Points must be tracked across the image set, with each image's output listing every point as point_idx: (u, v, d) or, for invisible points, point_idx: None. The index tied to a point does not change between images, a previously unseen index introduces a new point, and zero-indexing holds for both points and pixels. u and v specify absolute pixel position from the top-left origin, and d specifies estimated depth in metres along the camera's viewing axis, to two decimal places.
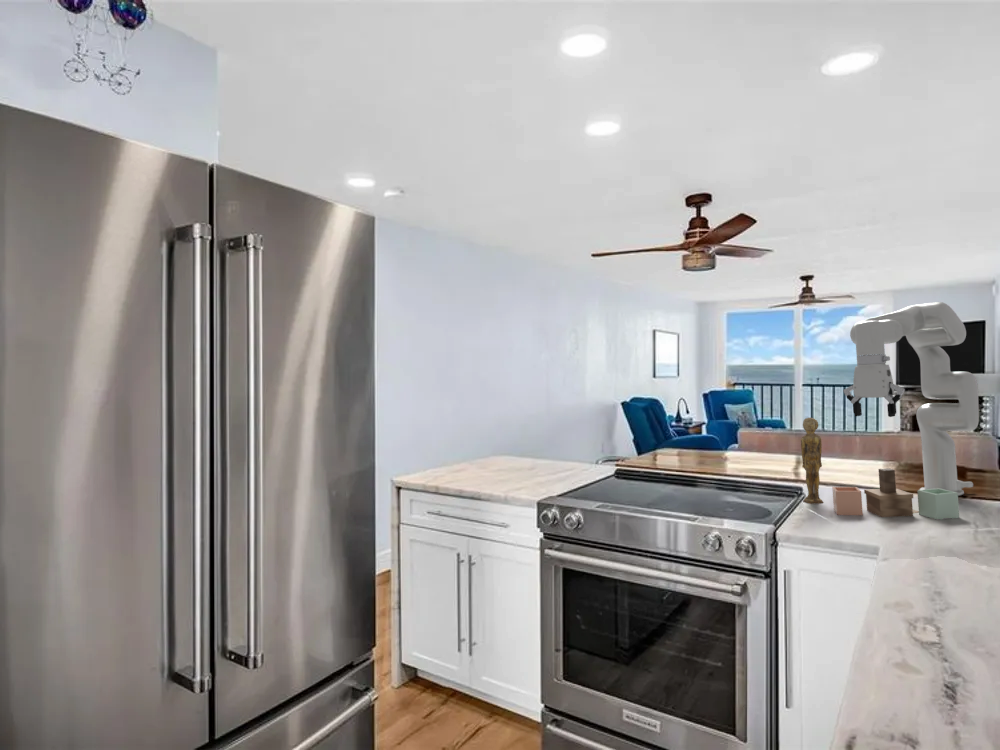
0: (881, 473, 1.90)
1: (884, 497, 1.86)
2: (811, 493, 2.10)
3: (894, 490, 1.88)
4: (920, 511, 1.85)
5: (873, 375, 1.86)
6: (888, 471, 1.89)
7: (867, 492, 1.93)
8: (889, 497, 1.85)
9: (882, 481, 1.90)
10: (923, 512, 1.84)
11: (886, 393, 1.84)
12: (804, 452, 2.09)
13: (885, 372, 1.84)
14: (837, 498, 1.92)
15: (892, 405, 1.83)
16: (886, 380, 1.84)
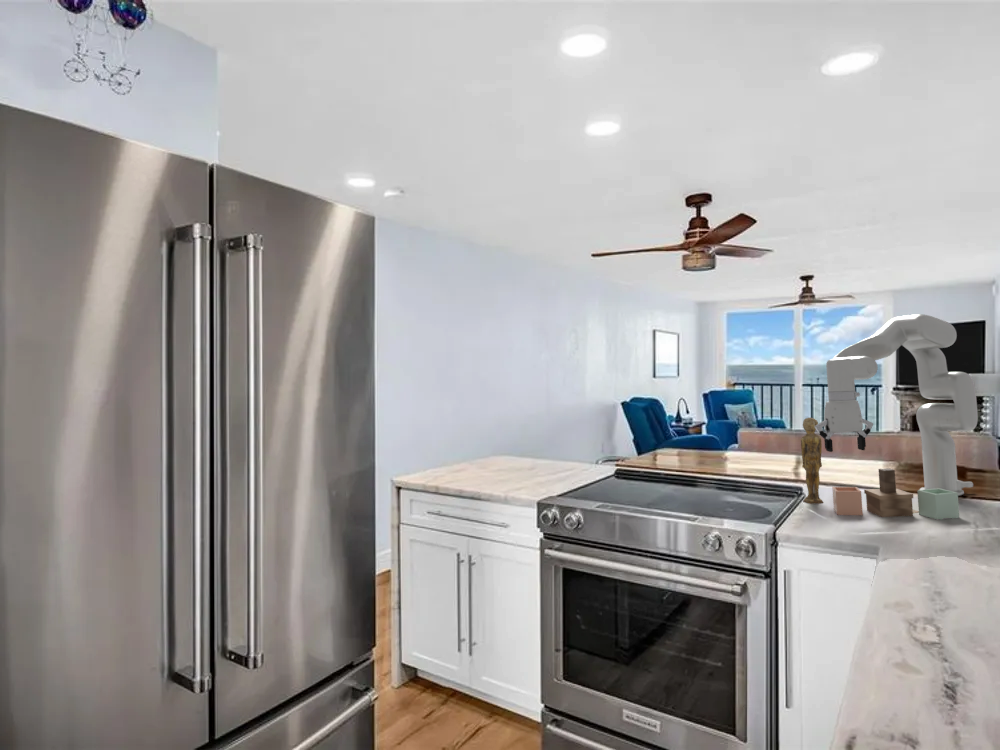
0: (881, 473, 1.90)
1: (884, 497, 1.86)
2: (811, 493, 2.10)
3: (894, 490, 1.88)
4: (920, 511, 1.85)
5: (851, 410, 1.92)
6: (888, 471, 1.89)
7: (867, 492, 1.93)
8: (889, 497, 1.85)
9: (882, 481, 1.90)
10: (923, 512, 1.84)
11: (862, 427, 1.92)
12: (804, 452, 2.09)
13: (859, 407, 1.92)
14: (837, 498, 1.92)
15: (864, 439, 1.93)
16: (861, 415, 1.92)
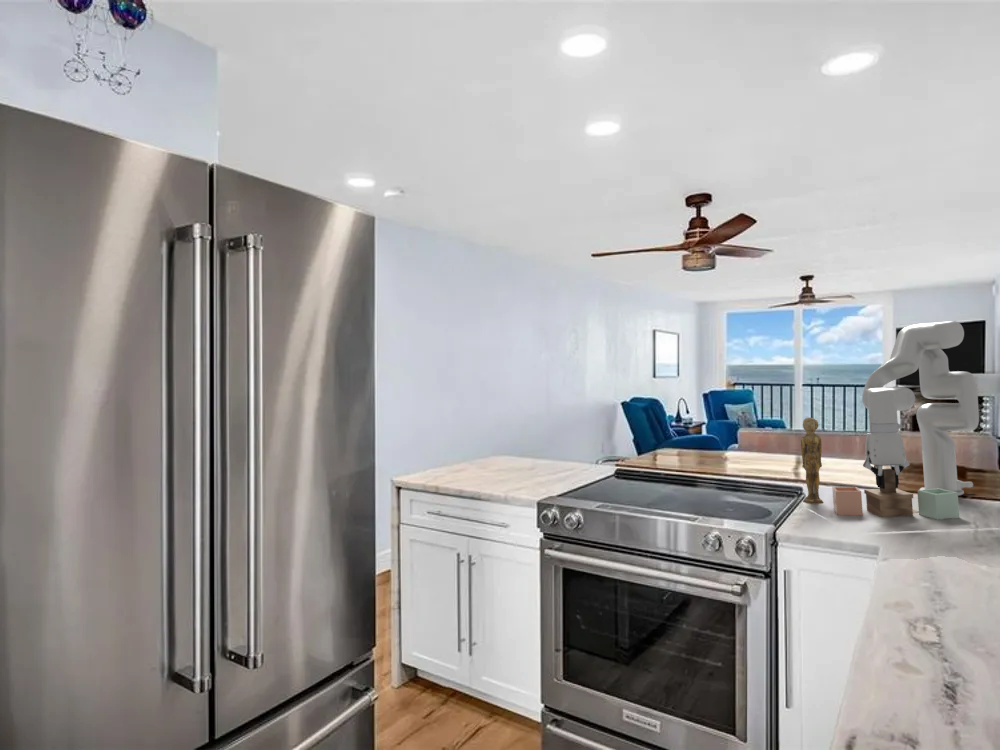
0: None
1: (884, 497, 1.86)
2: (811, 493, 2.10)
3: (894, 490, 1.88)
4: (920, 511, 1.85)
5: (894, 443, 1.88)
6: (888, 471, 1.89)
7: (867, 492, 1.93)
8: (889, 497, 1.85)
9: None
10: (923, 512, 1.84)
11: (904, 460, 1.88)
12: (804, 452, 2.09)
13: (902, 440, 1.88)
14: (837, 498, 1.92)
15: (897, 476, 1.89)
16: None
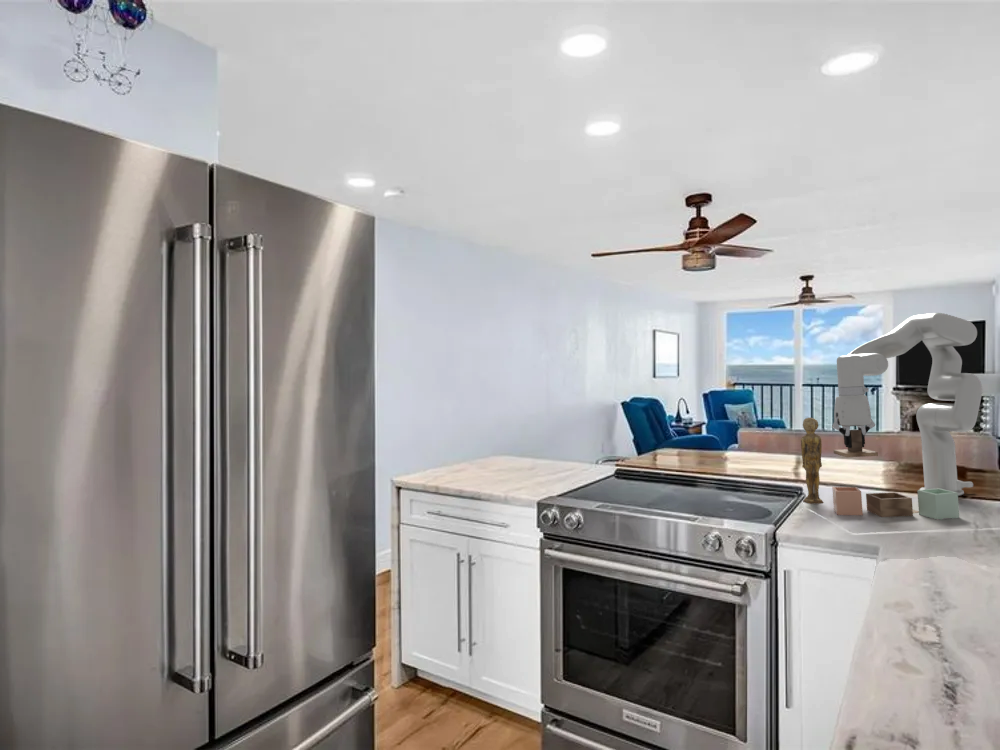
0: None
1: (851, 455, 1.99)
2: (811, 493, 2.10)
3: (860, 449, 2.02)
4: (920, 511, 1.85)
5: (860, 405, 2.01)
6: (855, 431, 2.02)
7: (836, 452, 2.06)
8: (855, 455, 1.99)
9: None
10: (923, 512, 1.84)
11: (870, 421, 2.01)
12: (804, 452, 2.09)
13: (868, 402, 2.01)
14: (837, 498, 1.92)
15: None
16: None
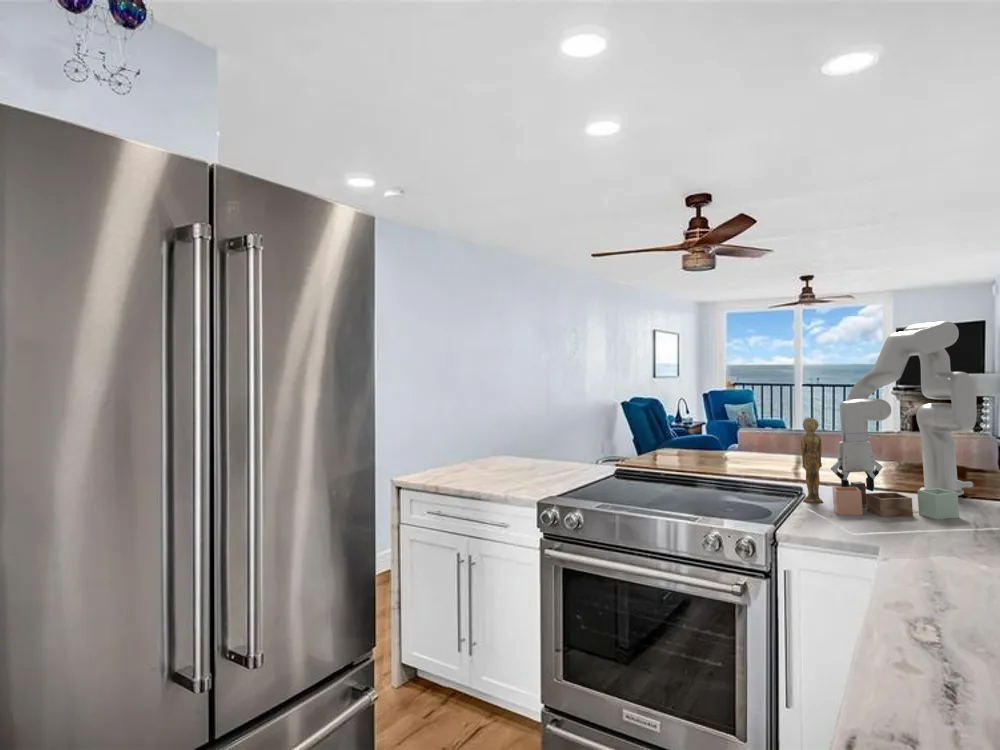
0: (852, 486, 2.04)
1: None
2: (811, 493, 2.10)
3: (865, 502, 2.02)
4: (920, 511, 1.85)
5: (863, 451, 2.01)
6: (859, 484, 2.02)
7: None
8: None
9: None
10: (923, 512, 1.84)
11: (873, 467, 2.01)
12: (804, 452, 2.09)
13: (871, 448, 2.01)
14: (837, 498, 1.92)
15: None
16: None
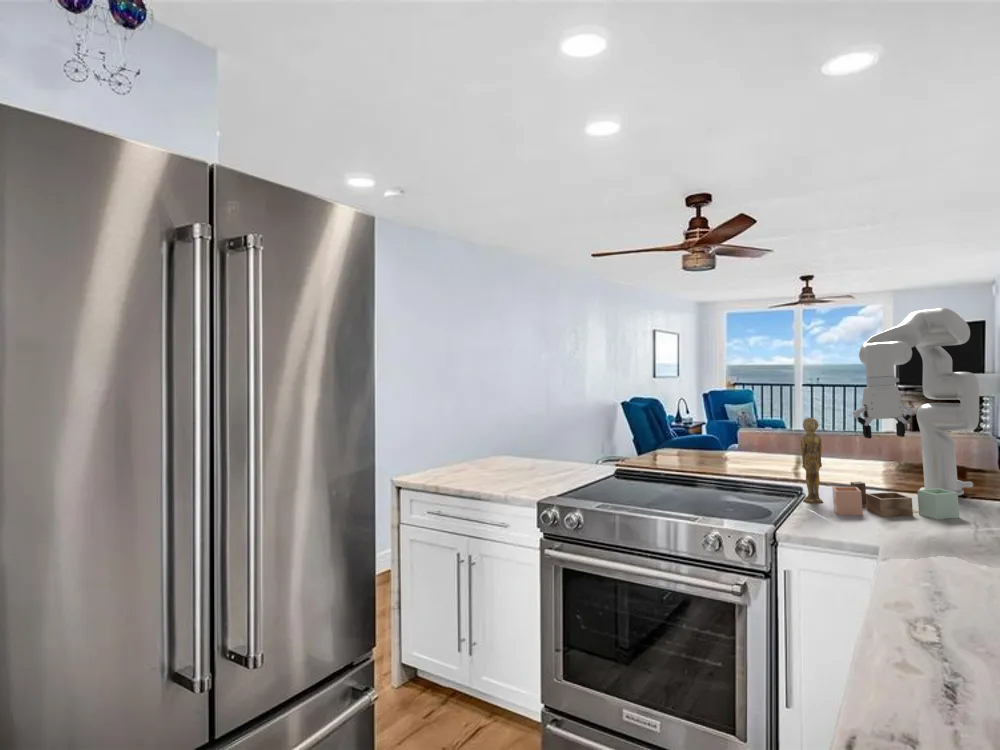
0: (852, 486, 2.04)
1: None
2: (811, 493, 2.10)
3: (865, 502, 2.02)
4: (920, 511, 1.85)
5: (891, 396, 1.88)
6: (859, 484, 2.02)
7: None
8: None
9: None
10: (923, 512, 1.84)
11: (901, 413, 1.88)
12: (804, 452, 2.09)
13: (899, 393, 1.88)
14: (837, 498, 1.92)
15: (903, 425, 1.89)
16: None
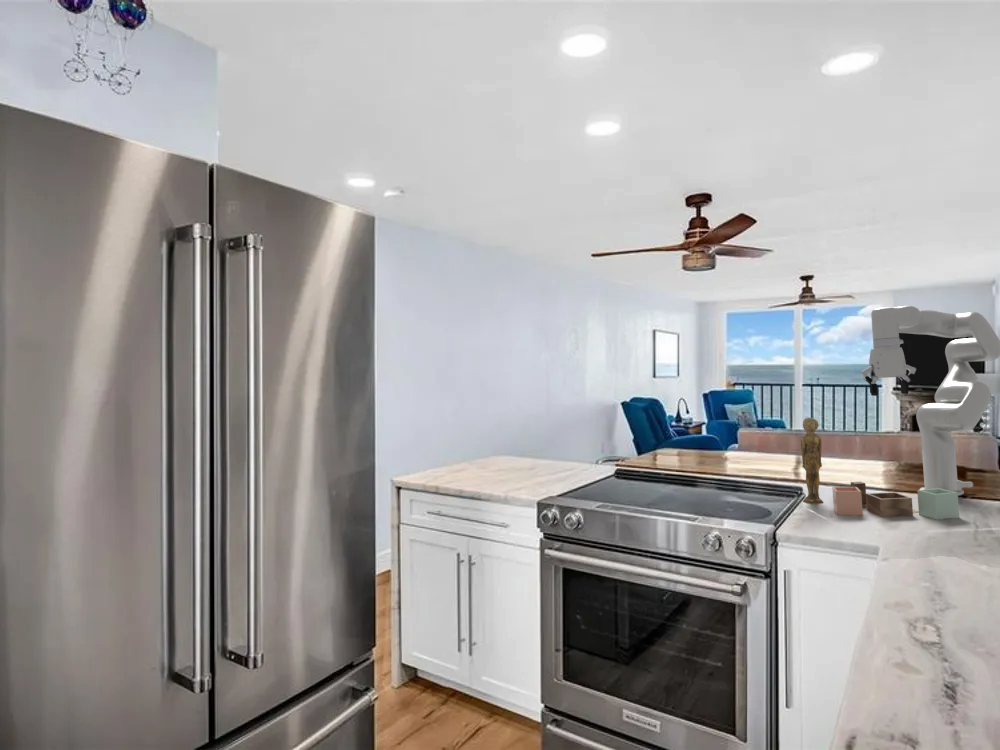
0: (852, 486, 2.04)
1: None
2: (811, 493, 2.10)
3: (865, 502, 2.02)
4: (920, 511, 1.85)
5: (895, 356, 2.03)
6: (859, 484, 2.02)
7: None
8: None
9: None
10: (923, 512, 1.84)
11: (905, 372, 2.04)
12: (804, 452, 2.09)
13: (903, 353, 2.04)
14: (837, 498, 1.92)
15: None
16: None
